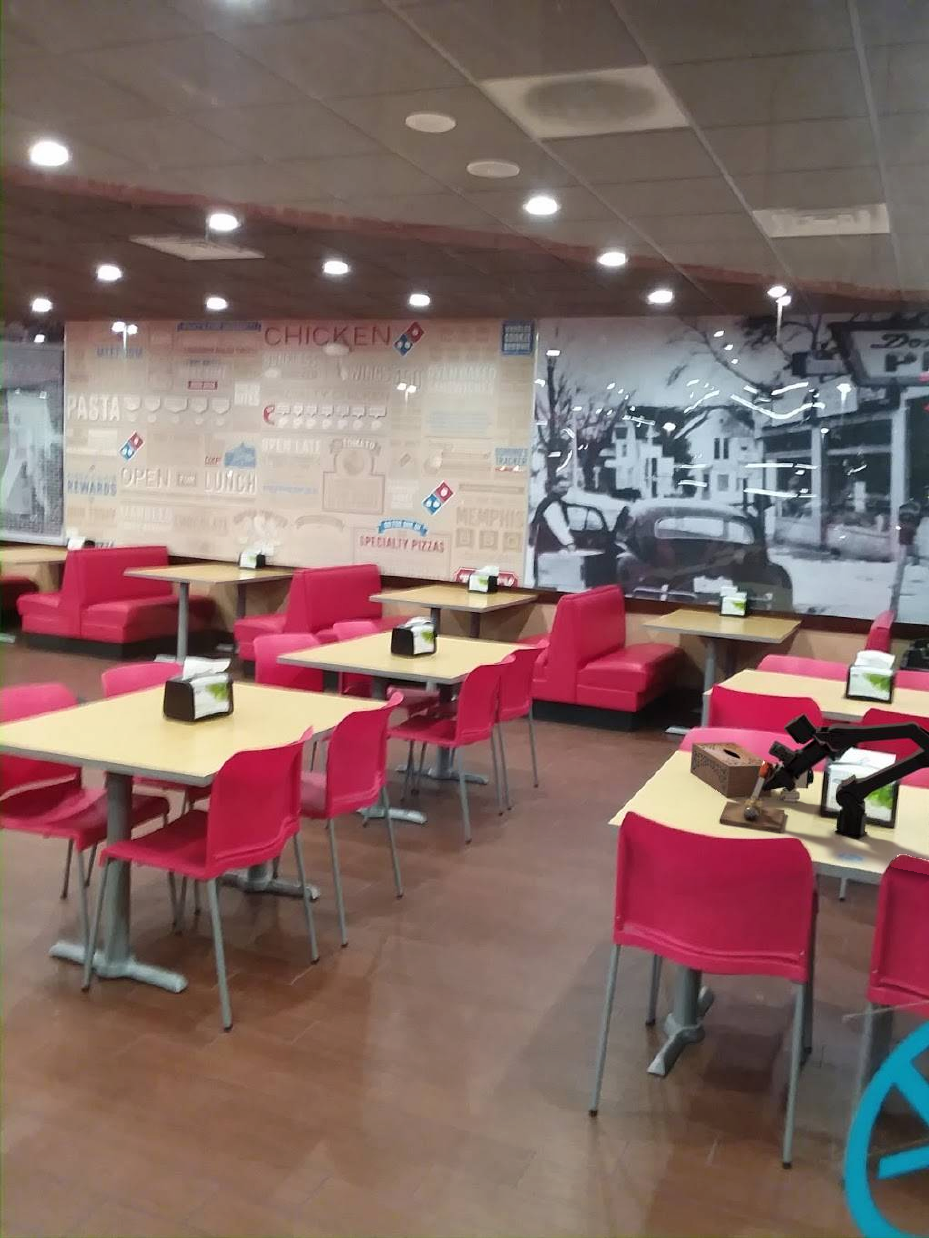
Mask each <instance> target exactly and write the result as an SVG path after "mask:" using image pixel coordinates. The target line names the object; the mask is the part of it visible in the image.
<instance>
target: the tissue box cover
mask: <svg viewBox="0 0 929 1238" xmlns="http://www.w3.org/2000/svg"><path fill="white" fill-rule="evenodd" d="M691 746H692V747H691V757H690V758H691V759H690V771H689V772H690V774H692V775H693V776H695V777H696V778H698V779H699V780H701V782H704V783H705V784H706V785H707V784H708V785H707V786H708V787H710V786H711V787H710V788H712V789H713V790H715V791H716V790H717V791H718V792H717V791H716V792H717V793H719V792H720V793H721V795H722V796H723V795H724V796H725V797H724V796H723V797H724V798H726V799H729V798H730V799H731V798H732V799H735V798H736V799H737V797H738V798H739V799H740V798H750V797H751V796H752V794H753V792H754V789H755V787H756V784H757V782H758V779H759V776H758V773H759V771H760V768H761V766H762V763H763V760H765V759H764V758H763V757H761V756H758V755H756V754H755V753H753V752H751V751H750V750H748V749H746V748H745V747H743V746H741V745H739V744H738V743H736V742H735V741H734V742H730V741H728V742H727V741H726V742H722V741H721V742H692V745H691ZM772 767H774V764H773V765H772ZM769 779H770V772H769V775H768V777H767V779H764V782H763V785H762V787H763V786H764V785H765V783H766V782H767V781H768V780H769ZM762 787H761V790H760V792H759V795H758V797H759V798H768V797H772V790H768V791H763V790H762ZM720 793H719V794H720Z"/></svg>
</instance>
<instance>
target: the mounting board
mask: <svg viewBox="0 0 929 1238" xmlns="http://www.w3.org/2000/svg"><path fill="white" fill-rule="evenodd" d="M744 805H745V803H741V802H734V801H726V803H725V805H724V808H723V810H722V812H721V815H720V817H719V821H718V823H719V824H722V825H729V826H737V827H743V828H749V829H755V830H760V829H761V831H769V832H772V833H773V832H774V833H780V832H781V829H782V825H783V820H784V815H785V809H781V808H773V807H768V806H763V805H762V813H761V816H760V818H758V819H757V821H749V820H745V819H744V816H743V814H744Z"/></svg>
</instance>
